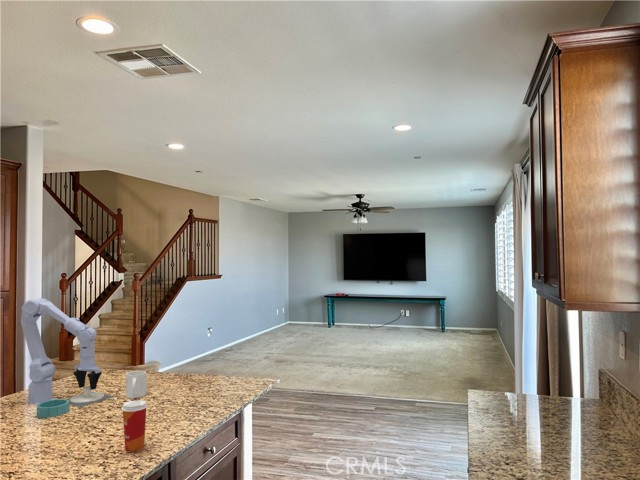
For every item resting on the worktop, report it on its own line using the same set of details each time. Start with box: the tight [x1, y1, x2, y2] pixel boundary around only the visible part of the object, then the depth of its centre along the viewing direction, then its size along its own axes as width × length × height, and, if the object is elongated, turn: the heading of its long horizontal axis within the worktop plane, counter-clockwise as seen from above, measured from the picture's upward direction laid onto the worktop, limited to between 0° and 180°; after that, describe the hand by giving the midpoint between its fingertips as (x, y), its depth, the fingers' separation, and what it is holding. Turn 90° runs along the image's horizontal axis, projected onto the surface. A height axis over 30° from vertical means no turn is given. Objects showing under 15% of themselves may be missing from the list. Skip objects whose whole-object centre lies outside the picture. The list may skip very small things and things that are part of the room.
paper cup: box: [121, 399, 148, 452], centre depth 146 cm, size 8×8×14 cm
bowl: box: [36, 398, 70, 420], centre depth 180 cm, size 11×11×4 cm
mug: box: [125, 370, 147, 399], centre depth 199 cm, size 12×8×10 cm
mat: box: [66, 391, 116, 408], centre depth 197 cm, size 16×16×1 cm
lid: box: [70, 385, 105, 404], centre depth 197 cm, size 13×13×5 cm
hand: (87, 388), depth 197 cm, fingers open, 7 cm apart
